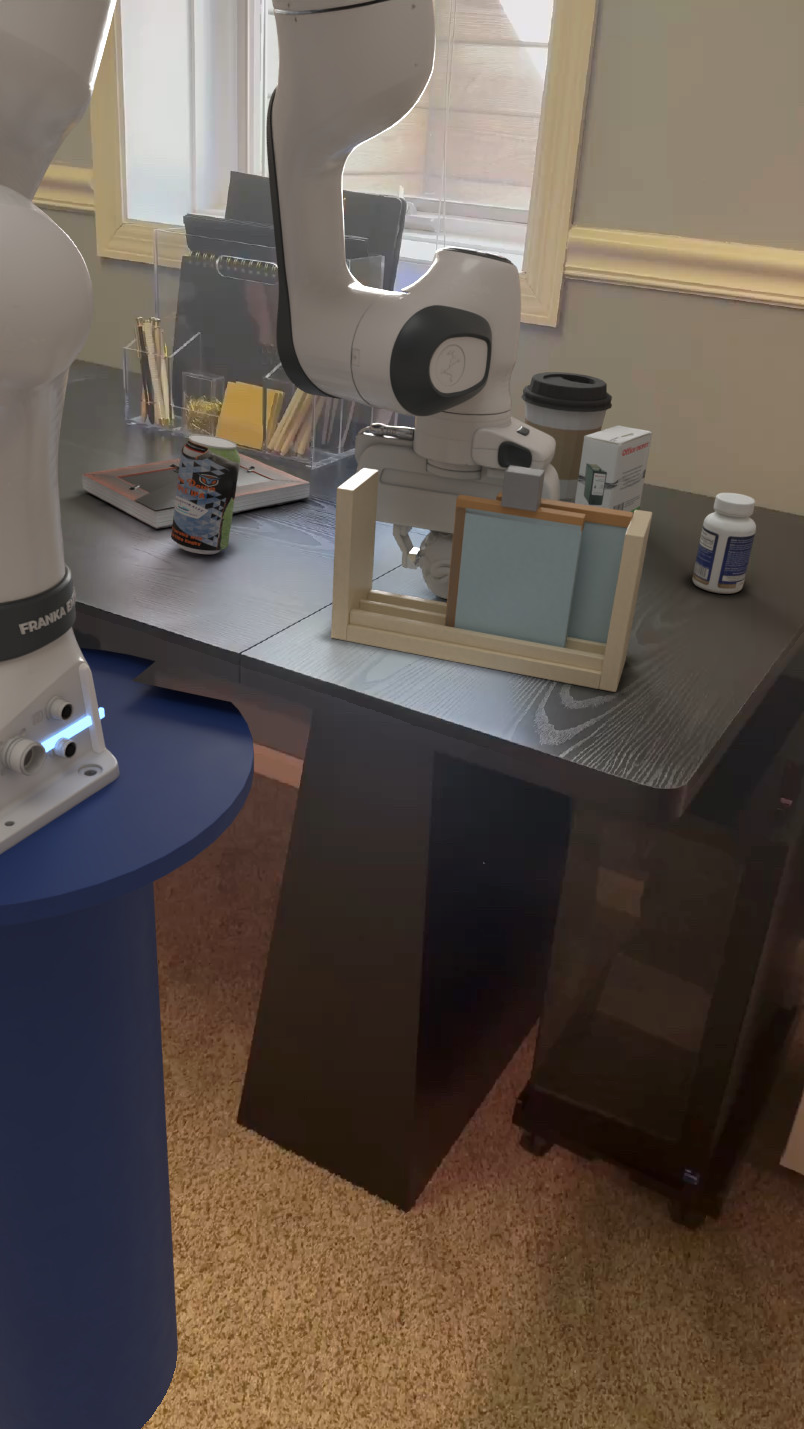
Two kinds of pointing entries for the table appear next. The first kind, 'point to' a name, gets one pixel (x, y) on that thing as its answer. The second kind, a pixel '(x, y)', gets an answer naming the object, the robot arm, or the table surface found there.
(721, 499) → the pill bottle
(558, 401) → the coffee cup
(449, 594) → the window pane
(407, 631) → the window frame
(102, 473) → the picture frame
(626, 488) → the ink box
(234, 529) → the table surface
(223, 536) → the beverage can
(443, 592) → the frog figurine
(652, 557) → the table surface
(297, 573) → the table surface
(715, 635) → the table surface
